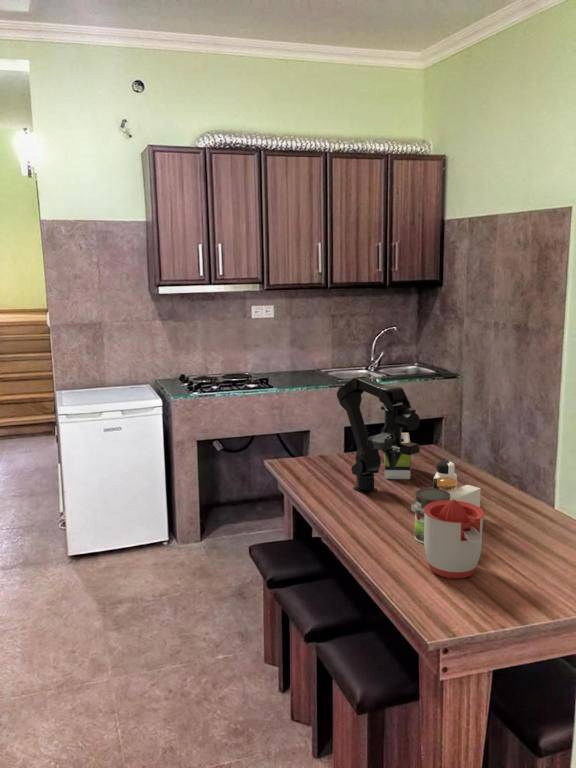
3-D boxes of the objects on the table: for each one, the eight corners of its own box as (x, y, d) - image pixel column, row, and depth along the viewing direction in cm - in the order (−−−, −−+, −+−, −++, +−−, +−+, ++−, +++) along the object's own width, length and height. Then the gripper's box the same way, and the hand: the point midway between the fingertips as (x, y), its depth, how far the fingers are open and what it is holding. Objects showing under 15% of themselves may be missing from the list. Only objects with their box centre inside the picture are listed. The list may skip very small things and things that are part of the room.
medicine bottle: (432, 497, 236) (433, 464, 234) (436, 490, 243) (437, 458, 241) (453, 499, 234) (454, 466, 232) (456, 492, 240) (457, 460, 238)
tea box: (384, 467, 271) (384, 431, 268) (409, 467, 270) (409, 432, 267) (384, 479, 256) (384, 441, 254) (410, 479, 255) (411, 442, 252)
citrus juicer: (449, 591, 170) (452, 516, 166) (411, 563, 186) (412, 494, 182) (498, 578, 176) (502, 506, 172) (457, 553, 192) (459, 486, 188)
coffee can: (427, 548, 195) (428, 502, 193) (407, 535, 205) (408, 491, 202) (456, 541, 199) (457, 496, 197) (435, 529, 209) (436, 486, 206)
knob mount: (407, 512, 223) (407, 483, 221) (431, 502, 231) (431, 474, 229) (456, 528, 209) (456, 498, 207) (479, 517, 217) (480, 488, 215)
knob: (432, 508, 219) (433, 479, 217) (443, 504, 223) (444, 475, 221) (448, 513, 214) (448, 483, 213) (459, 509, 218) (459, 479, 217)
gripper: (356, 423, 229) (356, 467, 232) (399, 433, 215) (398, 480, 218) (378, 418, 236) (377, 461, 239) (421, 427, 222) (420, 472, 225)
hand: (392, 468), depth 230 cm, fingers closed
